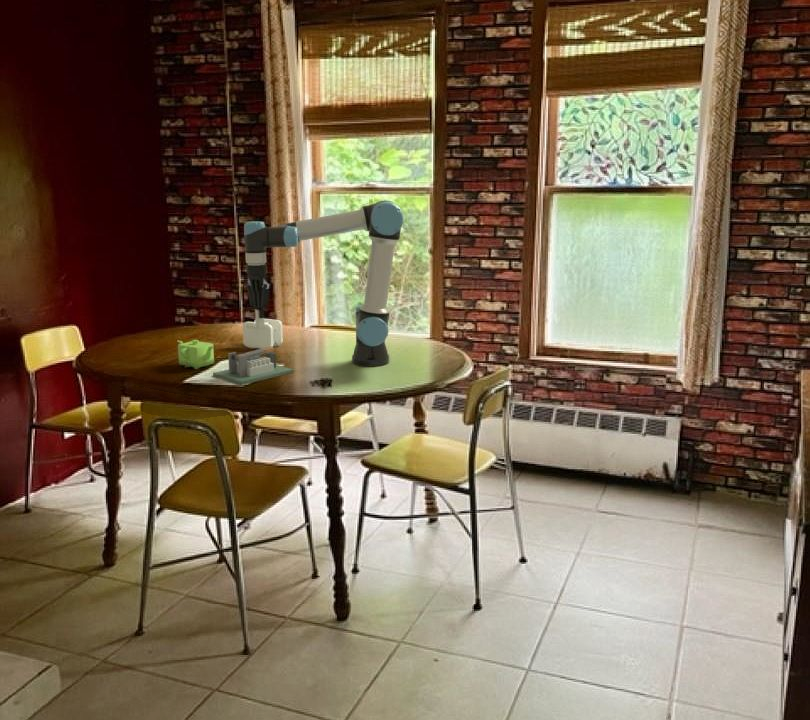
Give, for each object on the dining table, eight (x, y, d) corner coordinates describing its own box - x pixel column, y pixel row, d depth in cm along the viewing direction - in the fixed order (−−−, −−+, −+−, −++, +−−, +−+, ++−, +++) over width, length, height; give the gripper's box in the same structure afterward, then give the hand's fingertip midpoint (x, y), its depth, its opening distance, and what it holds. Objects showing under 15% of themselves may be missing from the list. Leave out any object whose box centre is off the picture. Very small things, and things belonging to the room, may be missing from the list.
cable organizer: (284, 346, 345) (283, 320, 342) (270, 351, 336) (269, 324, 333) (257, 343, 351) (256, 317, 348) (242, 347, 342) (241, 321, 339)
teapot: (215, 369, 305) (214, 343, 303) (180, 372, 301) (178, 345, 299) (212, 360, 319) (211, 335, 317) (178, 363, 315) (176, 337, 313)
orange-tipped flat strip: (275, 351, 302) (275, 347, 301) (239, 362, 290) (239, 357, 290) (267, 350, 305) (267, 345, 305) (231, 360, 293) (231, 355, 293)
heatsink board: (293, 372, 302) (292, 349, 299) (241, 384, 284) (240, 360, 282) (264, 364, 313) (263, 342, 311) (213, 375, 296) (211, 352, 294)
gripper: (275, 264, 290) (279, 326, 295) (253, 261, 298) (257, 322, 304) (259, 266, 284) (262, 330, 290) (237, 263, 293) (241, 325, 299)
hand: (260, 326), depth 297 cm, fingers closed
